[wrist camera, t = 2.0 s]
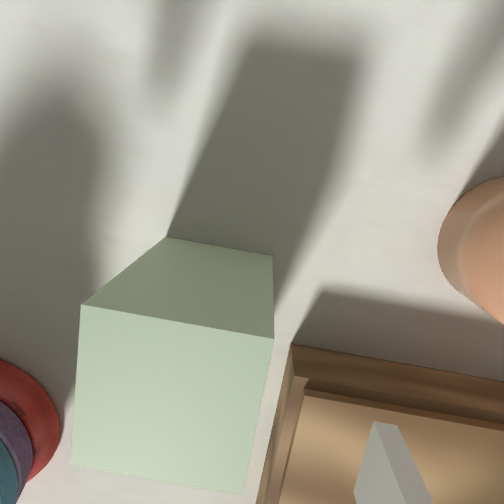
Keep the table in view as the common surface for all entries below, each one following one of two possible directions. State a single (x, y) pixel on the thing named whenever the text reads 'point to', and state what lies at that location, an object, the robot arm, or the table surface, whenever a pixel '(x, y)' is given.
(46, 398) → the stacking bear
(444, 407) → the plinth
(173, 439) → the sage block
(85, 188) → the table surface
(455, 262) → the peach rounded cylinder
